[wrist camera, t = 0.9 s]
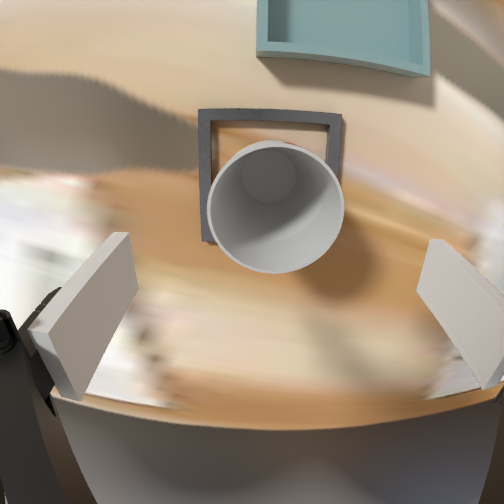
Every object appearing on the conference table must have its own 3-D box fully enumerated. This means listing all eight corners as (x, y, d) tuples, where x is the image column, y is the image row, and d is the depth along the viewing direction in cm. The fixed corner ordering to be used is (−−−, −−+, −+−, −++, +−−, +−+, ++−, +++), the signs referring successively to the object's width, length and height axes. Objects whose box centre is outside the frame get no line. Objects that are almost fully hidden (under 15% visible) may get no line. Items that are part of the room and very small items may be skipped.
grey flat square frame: (199, 109, 25) (198, 109, 24) (339, 114, 25) (341, 114, 24) (202, 237, 30) (201, 241, 29) (328, 240, 30) (330, 243, 29)
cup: (328, 194, 28) (362, 238, 19) (251, 234, 30) (250, 293, 21) (287, 115, 25) (307, 118, 16) (205, 159, 27) (180, 187, 18)
